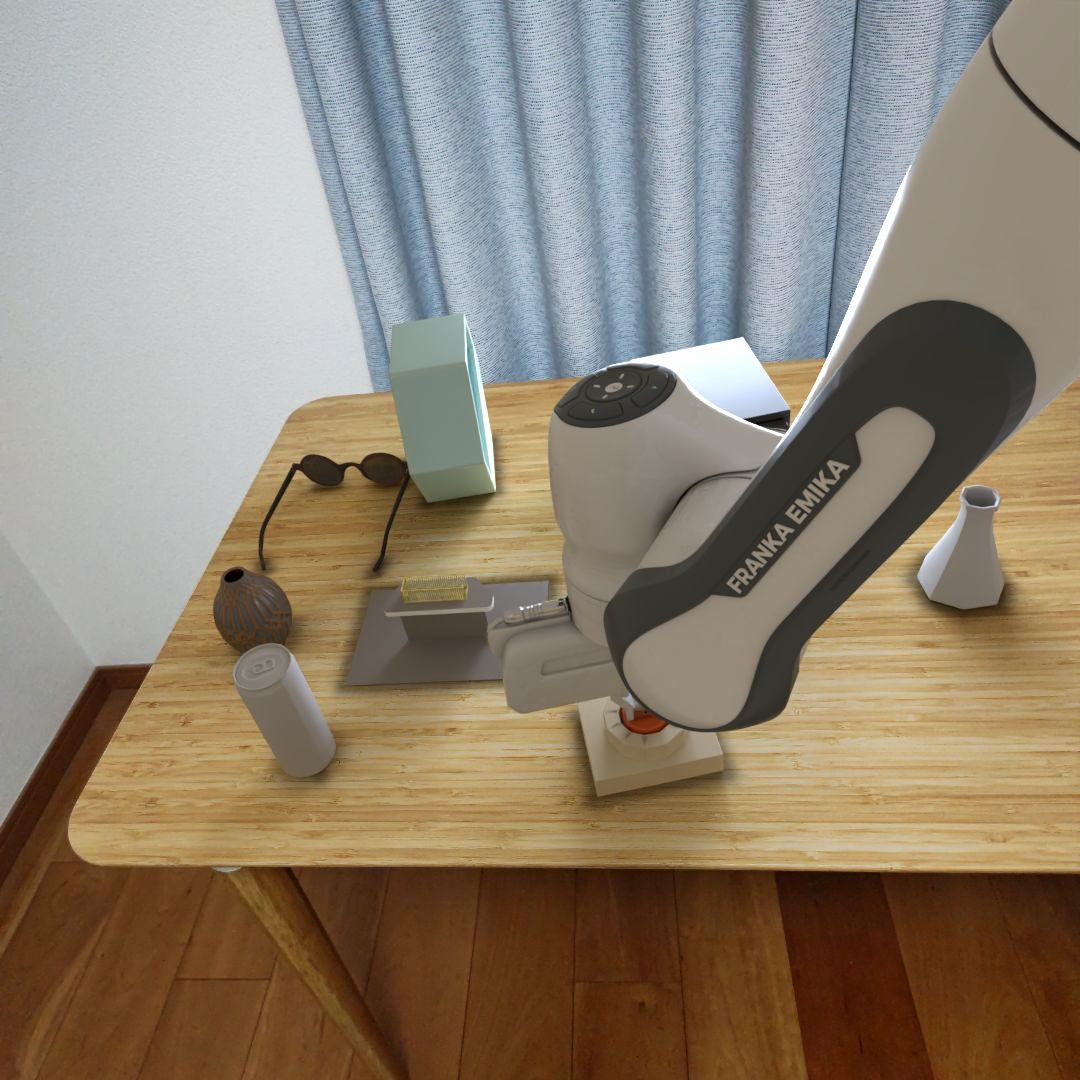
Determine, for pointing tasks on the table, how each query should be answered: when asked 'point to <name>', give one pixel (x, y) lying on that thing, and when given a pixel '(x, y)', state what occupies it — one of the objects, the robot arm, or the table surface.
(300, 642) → the table surface
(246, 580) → the vase
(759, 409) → the single drawer cabinet
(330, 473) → the eyeglasses
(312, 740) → the beverage can
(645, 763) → the block
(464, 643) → the platform
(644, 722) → the button
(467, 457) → the planter
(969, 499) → the flask
